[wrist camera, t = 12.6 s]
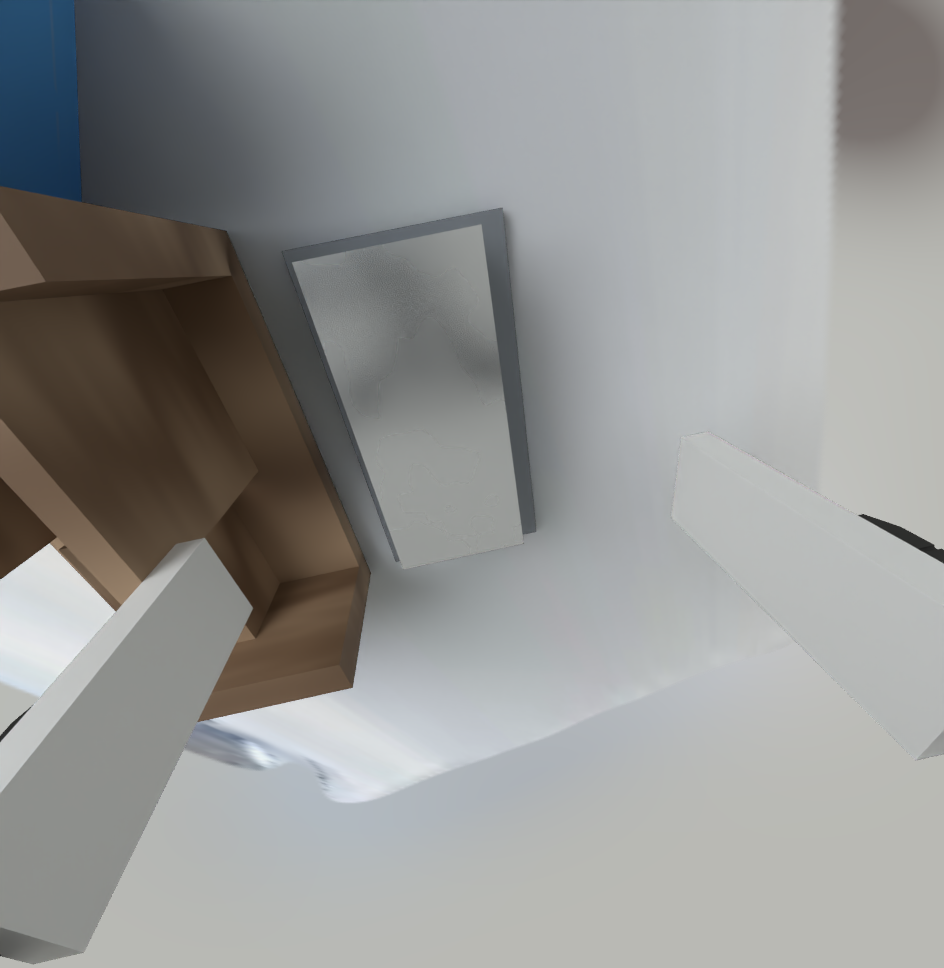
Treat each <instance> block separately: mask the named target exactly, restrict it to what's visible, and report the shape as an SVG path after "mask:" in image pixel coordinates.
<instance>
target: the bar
mask: <svg viewBox="0 0 944 968" xmlns="http://www.w3.org/2000/svg"><path fill="white" fill-rule="evenodd" d="M292 264H293V267H294V270H295V273H296V275H297V278H298V281H299V284H300V286H301V289H302V292H303V295H304V298H305V300H306V303H307V306H308V309H309V311H310V314H311V317H312V320H313V322H314V325H315V328H316V331H317V333H318V336H319V339H320V342H321V344H322V347H323V350H324V353H325V355H326V358H327V361H328V364H329V366H330V369H331V372H332V375H333V377H334V380H335V383H336V386H337V388H338V391H339V394H340V397H341V399H342V402H343V405H344V408H345V410H346V413H347V416H348V419H349V422H350V424H351V427H352V430H353V433H354V435H355V438H356V441H357V444H358V446H359V449H360V452H361V455H362V457H363V460H364V463H365V466H366V468H367V471H368V474H369V477H370V479H371V482H372V485H373V488H374V490H375V493H376V496H377V499H378V501H379V504H380V507H381V510H382V512H383V515H384V518H385V521H386V523H387V526H388V529H389V532H390V534H391V537H392V540H393V543H394V546H395V548H396V551H397V554H398V557H399V559H400V562H401V565H402V568H403V570H405V569H409V568H414V567H418V566H423V565H428V564H432V563H437V562H441V561H446V560H451V559H455V558H460V557H464V556H469V555H473V554H478V553H483V552H487V551H492V550H496V549H501V548H506V547H510V546H515V545H519V544H524V542H523V534H522V527H521V519H520V511H519V504H518V496H517V489H516V481H515V474H514V466H513V459H512V451H511V444H510V436H509V428H508V421H507V413H506V406H505V398H504V391H503V383H502V376H501V368H500V360H499V353H498V345H497V338H496V330H495V323H494V315H493V308H492V300H491V292H490V285H489V277H488V270H487V262H486V255H485V247H484V240H483V232H482V225H481V224H480V225H476V226H471V227H466V228H461V229H456V230H451V231H446V232H441V233H436V234H431V235H426V236H421V237H416V238H411V239H406V240H401V241H396V242H391V243H386V244H381V245H376V246H371V247H366V248H361V249H356V250H351V251H346V252H341V253H336V254H331V255H326V256H321V257H316V258H311V259H307V260H302V261H297V262H292Z"/></svg>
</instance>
